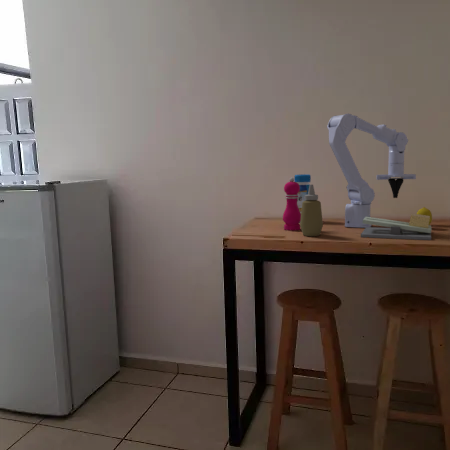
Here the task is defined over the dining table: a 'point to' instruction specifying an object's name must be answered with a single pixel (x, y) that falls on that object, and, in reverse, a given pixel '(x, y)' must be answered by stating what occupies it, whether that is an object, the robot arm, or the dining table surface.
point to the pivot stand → (394, 233)
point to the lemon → (425, 213)
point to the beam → (394, 224)
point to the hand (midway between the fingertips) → (395, 197)
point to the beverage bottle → (302, 188)
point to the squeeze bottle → (311, 214)
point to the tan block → (419, 220)
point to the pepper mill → (292, 206)
